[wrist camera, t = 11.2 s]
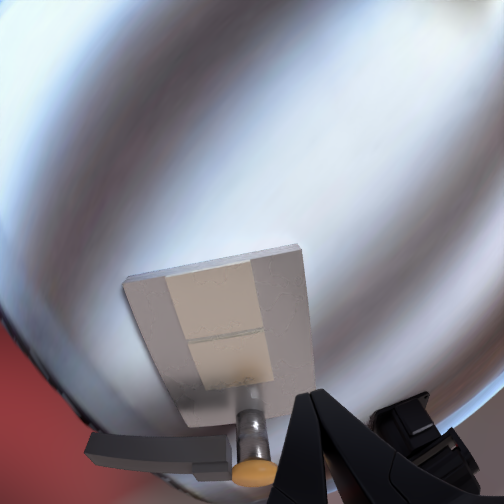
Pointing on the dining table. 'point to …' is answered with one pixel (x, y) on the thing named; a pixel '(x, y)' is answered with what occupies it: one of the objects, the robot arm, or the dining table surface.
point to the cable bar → (179, 457)
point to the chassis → (230, 339)
